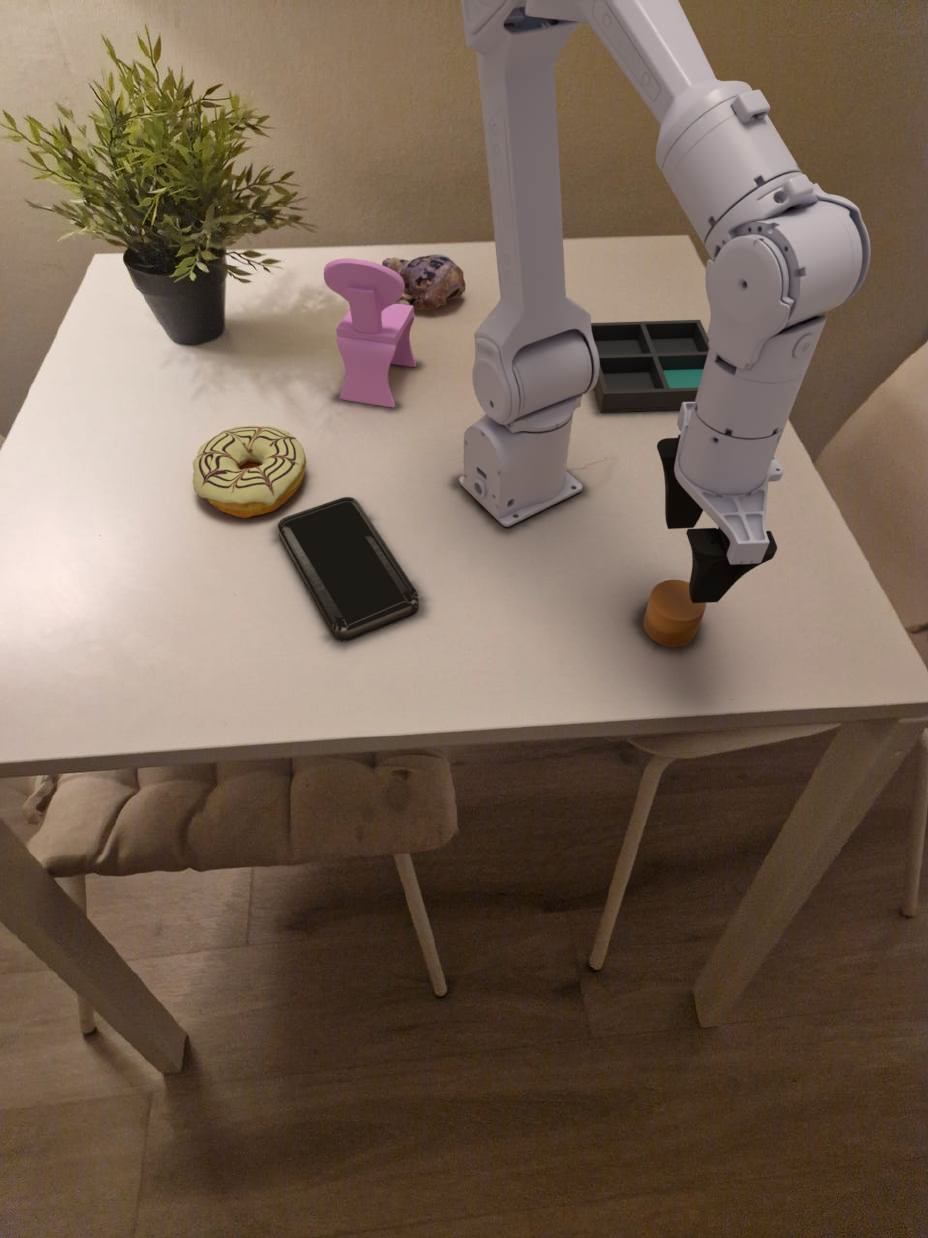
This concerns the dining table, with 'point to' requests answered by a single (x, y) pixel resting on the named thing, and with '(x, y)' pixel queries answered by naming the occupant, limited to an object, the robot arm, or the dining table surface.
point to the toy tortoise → (428, 280)
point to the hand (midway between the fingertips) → (691, 560)
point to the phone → (347, 567)
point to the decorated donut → (249, 470)
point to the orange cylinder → (672, 614)
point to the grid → (649, 364)
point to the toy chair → (370, 328)
